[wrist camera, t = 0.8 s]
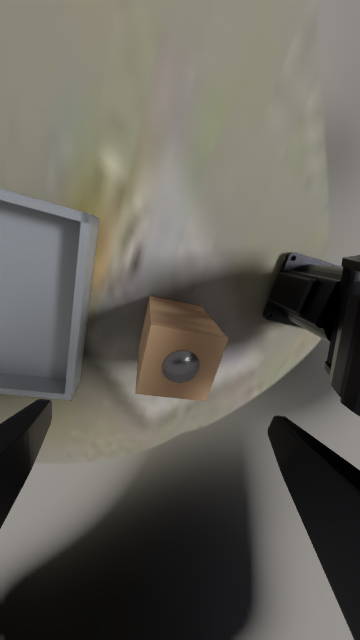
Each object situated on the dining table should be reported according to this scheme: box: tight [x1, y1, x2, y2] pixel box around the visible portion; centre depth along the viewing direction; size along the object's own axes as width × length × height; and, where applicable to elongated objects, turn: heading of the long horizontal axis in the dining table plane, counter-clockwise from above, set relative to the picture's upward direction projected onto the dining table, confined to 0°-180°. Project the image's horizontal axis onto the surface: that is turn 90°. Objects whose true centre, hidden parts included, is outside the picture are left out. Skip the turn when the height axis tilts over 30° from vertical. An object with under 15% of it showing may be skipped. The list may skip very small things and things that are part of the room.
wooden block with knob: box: [135, 296, 228, 401], centre depth 17 cm, size 5×5×7 cm
